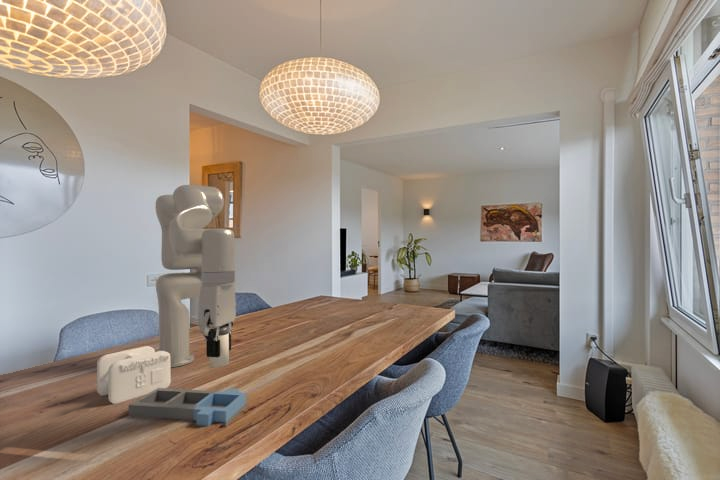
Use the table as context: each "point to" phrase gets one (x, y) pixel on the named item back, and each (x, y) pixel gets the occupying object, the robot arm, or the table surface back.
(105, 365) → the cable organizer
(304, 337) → the table surface
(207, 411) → the three compartment tray
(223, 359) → the cream capped cylinder
